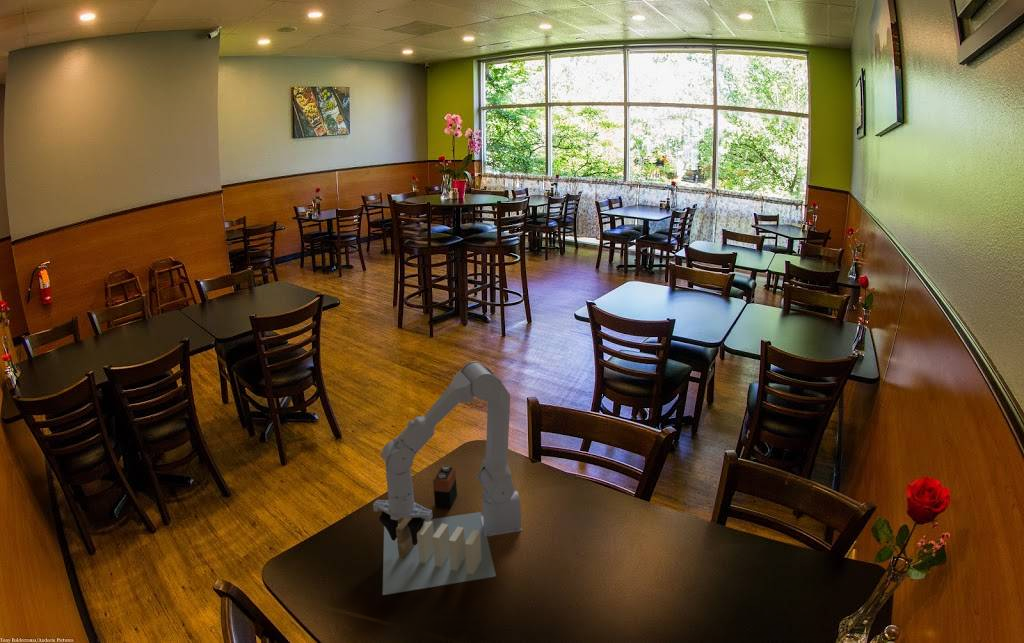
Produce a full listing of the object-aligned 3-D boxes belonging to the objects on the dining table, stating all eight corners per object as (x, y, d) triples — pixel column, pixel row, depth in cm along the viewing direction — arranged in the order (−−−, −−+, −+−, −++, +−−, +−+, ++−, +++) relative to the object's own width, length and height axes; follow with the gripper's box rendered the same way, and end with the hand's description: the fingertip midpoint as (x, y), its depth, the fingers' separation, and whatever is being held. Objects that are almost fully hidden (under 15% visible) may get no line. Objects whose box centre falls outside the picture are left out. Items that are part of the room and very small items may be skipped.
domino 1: (419, 562, 137) (416, 533, 134) (429, 548, 141) (426, 520, 139) (425, 563, 136) (423, 534, 134) (435, 549, 141) (432, 521, 138)
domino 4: (466, 573, 133) (464, 543, 130) (475, 558, 137) (473, 529, 135) (473, 574, 132) (471, 545, 130) (481, 559, 137) (480, 530, 134)
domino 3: (450, 569, 134) (448, 540, 132) (459, 554, 139) (457, 526, 136) (457, 570, 134) (455, 541, 131) (465, 556, 138) (463, 527, 136)
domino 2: (435, 565, 135) (432, 536, 133) (444, 551, 140) (442, 523, 137) (441, 567, 135) (438, 538, 132) (450, 552, 139) (448, 524, 137)
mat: (481, 513, 154) (480, 511, 154) (496, 577, 132) (496, 576, 132) (384, 527, 150) (384, 526, 150) (382, 596, 127) (382, 595, 127)
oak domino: (398, 557, 138) (395, 528, 136) (409, 543, 143) (406, 515, 140) (404, 558, 138) (401, 530, 136) (414, 544, 142) (412, 517, 140)
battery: (457, 495, 162) (455, 464, 159) (450, 510, 156) (447, 478, 153) (442, 494, 163) (440, 462, 160) (434, 509, 157) (431, 476, 153)
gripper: (363, 495, 134) (370, 545, 138) (420, 506, 129) (425, 557, 133) (380, 478, 140) (385, 526, 144) (434, 488, 136) (438, 537, 140)
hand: (405, 540), depth 139 cm, fingers open, 5 cm apart
